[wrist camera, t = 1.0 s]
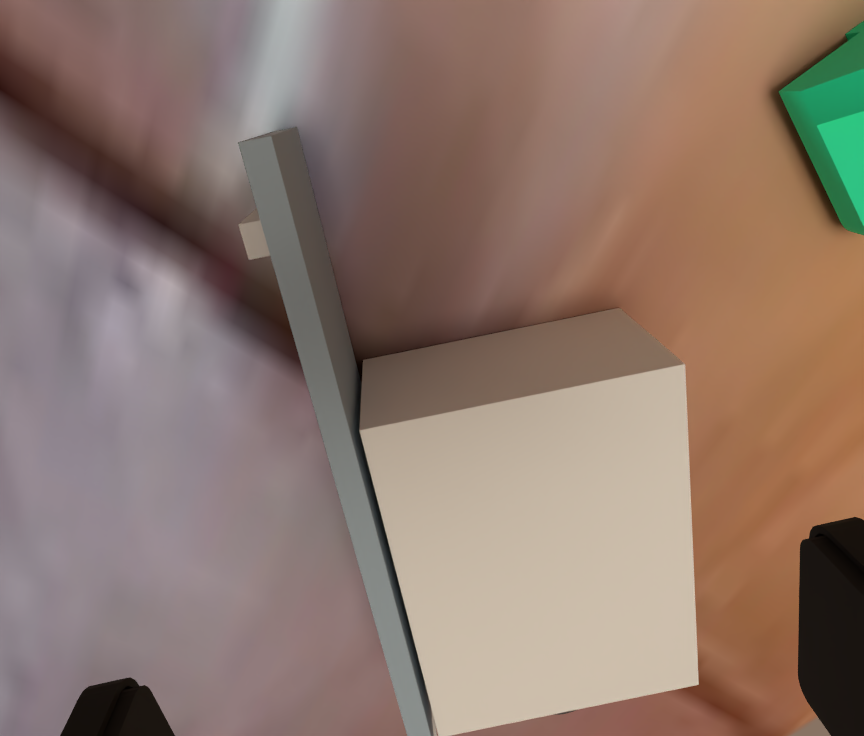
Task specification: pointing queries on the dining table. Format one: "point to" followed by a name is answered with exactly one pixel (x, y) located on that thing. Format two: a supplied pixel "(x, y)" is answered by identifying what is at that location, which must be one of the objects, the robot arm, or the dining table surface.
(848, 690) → the robot arm
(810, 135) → the camera mount
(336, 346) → the side door
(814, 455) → the dining table surface
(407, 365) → the block
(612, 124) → the dining table surface
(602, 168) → the dining table surface
